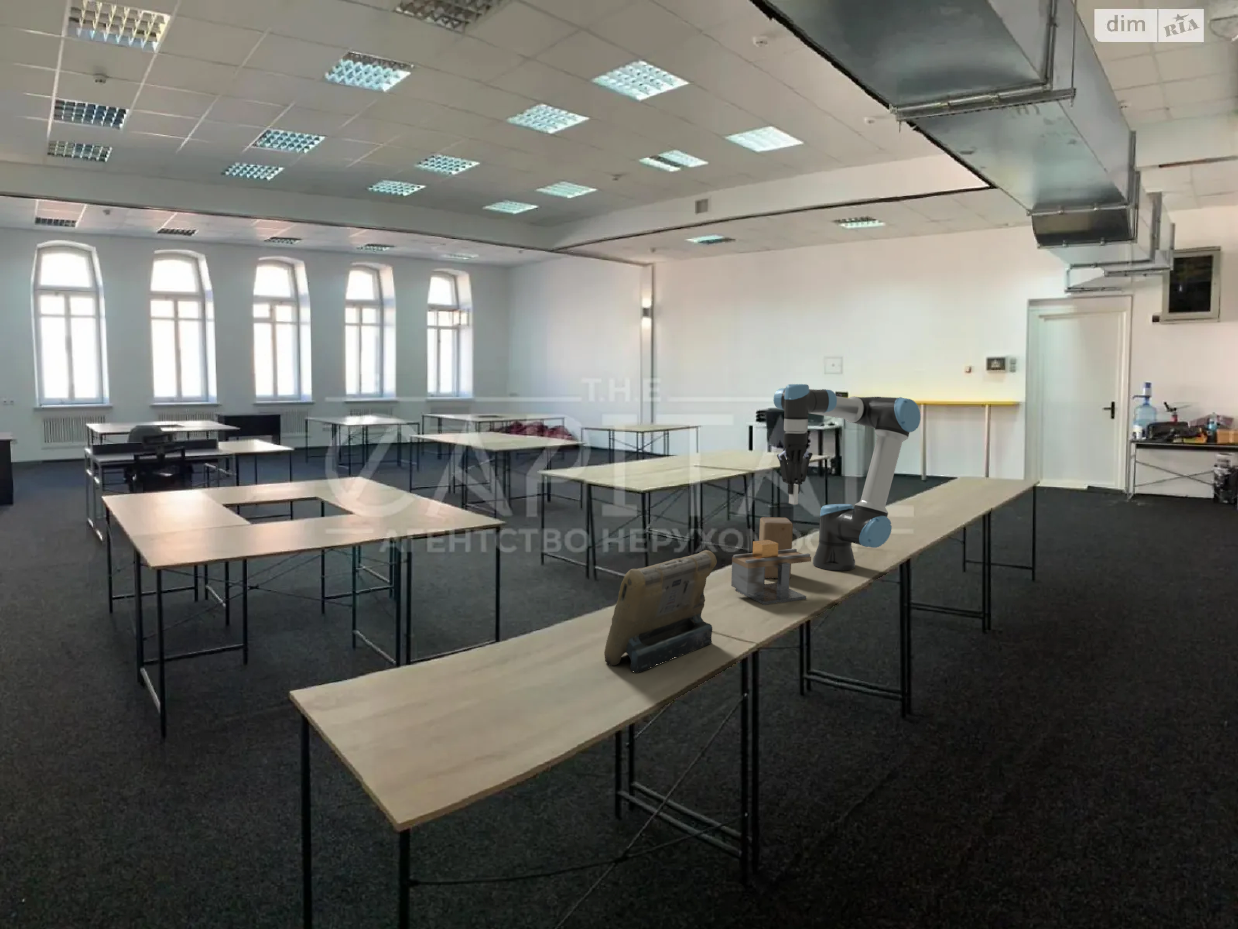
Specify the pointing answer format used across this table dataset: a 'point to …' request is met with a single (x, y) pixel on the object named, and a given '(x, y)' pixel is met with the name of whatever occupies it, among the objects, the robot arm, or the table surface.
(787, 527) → the wooden block
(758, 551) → the rider
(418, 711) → the table surface
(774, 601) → the pivot stand
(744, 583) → the beam
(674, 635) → the tablet
